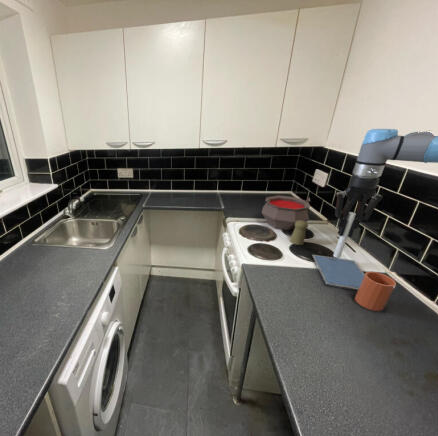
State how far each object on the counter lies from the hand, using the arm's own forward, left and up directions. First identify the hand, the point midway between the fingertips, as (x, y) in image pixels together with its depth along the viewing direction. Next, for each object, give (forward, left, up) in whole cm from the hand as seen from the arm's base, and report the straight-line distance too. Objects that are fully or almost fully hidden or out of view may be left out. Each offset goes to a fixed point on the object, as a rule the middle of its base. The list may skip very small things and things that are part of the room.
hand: (344, 234), depth 90 cm
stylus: (0, 0, -11) cm, 11 cm away
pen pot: (-3, +23, -13) cm, 26 cm away
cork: (+11, -15, -14) cm, 23 cm away
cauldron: (+15, -34, -14) cm, 40 cm away
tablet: (0, +7, -13) cm, 15 cm away
